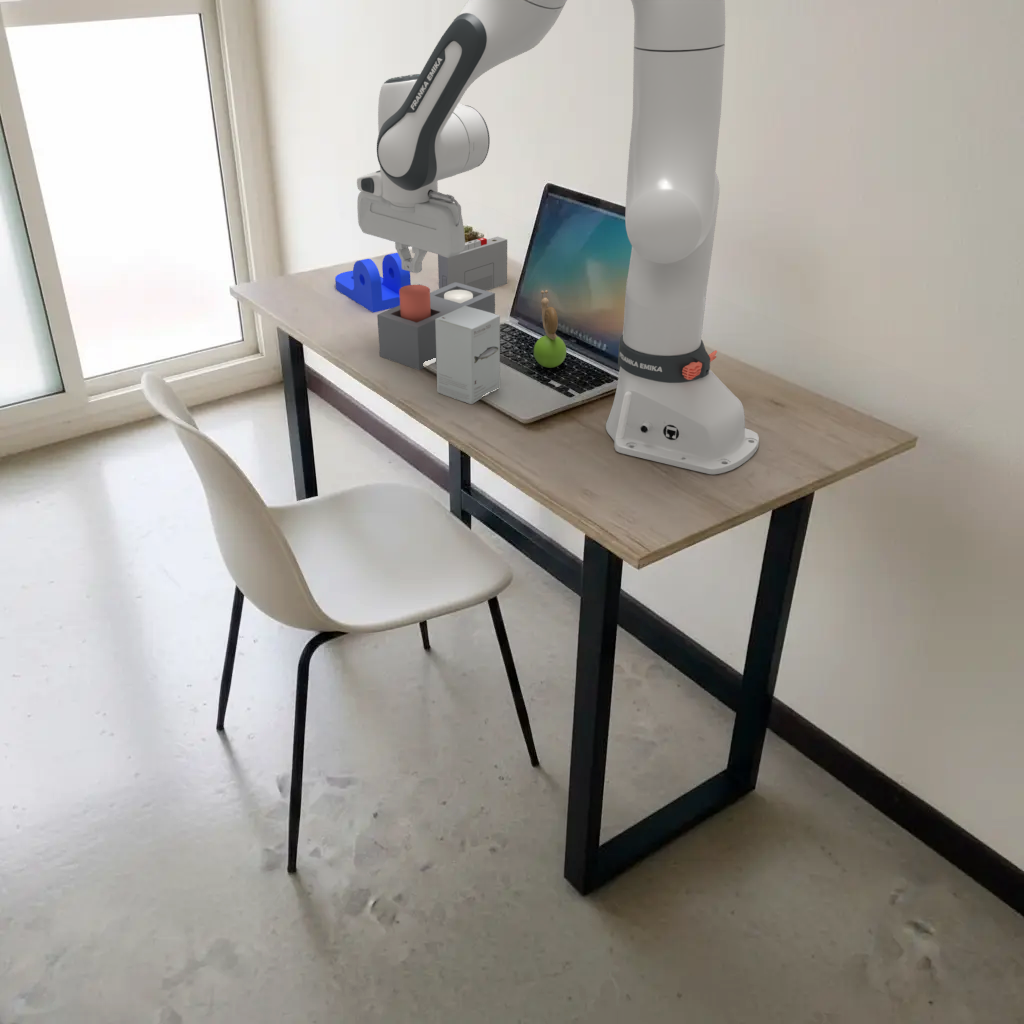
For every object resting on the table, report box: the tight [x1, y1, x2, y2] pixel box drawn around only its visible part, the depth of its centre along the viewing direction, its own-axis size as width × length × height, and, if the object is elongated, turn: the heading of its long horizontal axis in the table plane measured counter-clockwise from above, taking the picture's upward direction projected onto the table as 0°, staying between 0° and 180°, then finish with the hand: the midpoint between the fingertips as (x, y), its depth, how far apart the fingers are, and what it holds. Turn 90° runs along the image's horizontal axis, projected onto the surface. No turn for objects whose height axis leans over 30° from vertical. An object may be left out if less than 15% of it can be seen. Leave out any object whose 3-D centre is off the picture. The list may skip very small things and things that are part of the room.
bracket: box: [334, 252, 412, 314], centre depth 202 cm, size 18×8×9 cm, turn 35°
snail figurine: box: [533, 289, 567, 369], centre depth 173 cm, size 5×6×12 cm
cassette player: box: [437, 236, 508, 291], centre depth 203 cm, size 16×3×10 cm, turn 135°
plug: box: [444, 290, 473, 303], centre depth 184 cm, size 5×5×6 cm
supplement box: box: [435, 306, 501, 405], centre depth 164 cm, size 7×7×13 cm
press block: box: [376, 282, 496, 371], centre depth 181 cm, size 9×20×8 cm, turn 142°
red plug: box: [399, 284, 431, 322], centre depth 175 cm, size 5×5×6 cm
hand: (411, 270), depth 172 cm, fingers closed
